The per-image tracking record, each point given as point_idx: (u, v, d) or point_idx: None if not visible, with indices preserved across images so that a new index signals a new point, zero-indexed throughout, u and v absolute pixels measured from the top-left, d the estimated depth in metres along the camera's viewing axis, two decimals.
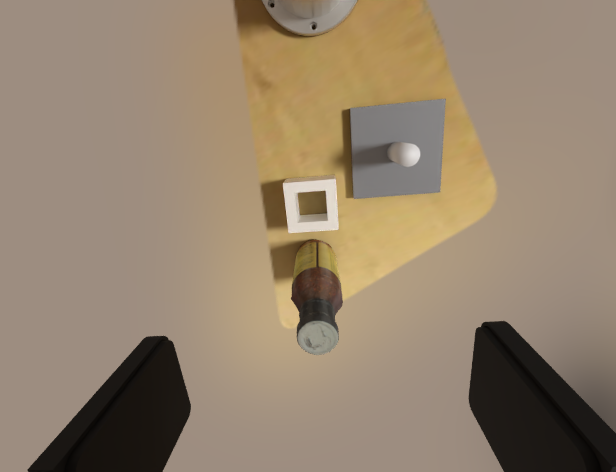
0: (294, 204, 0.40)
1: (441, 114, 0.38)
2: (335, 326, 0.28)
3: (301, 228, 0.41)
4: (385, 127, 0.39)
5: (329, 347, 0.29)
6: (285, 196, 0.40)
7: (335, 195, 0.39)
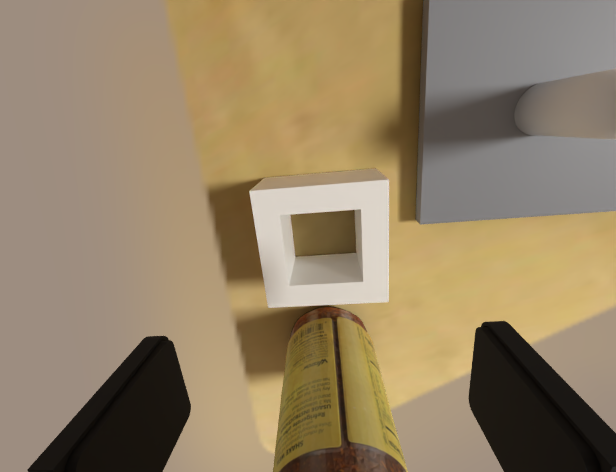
0: (280, 243, 0.16)
1: None
2: None
3: (298, 298, 0.17)
4: (519, 43, 0.15)
5: None
6: (257, 224, 0.16)
7: (385, 222, 0.15)
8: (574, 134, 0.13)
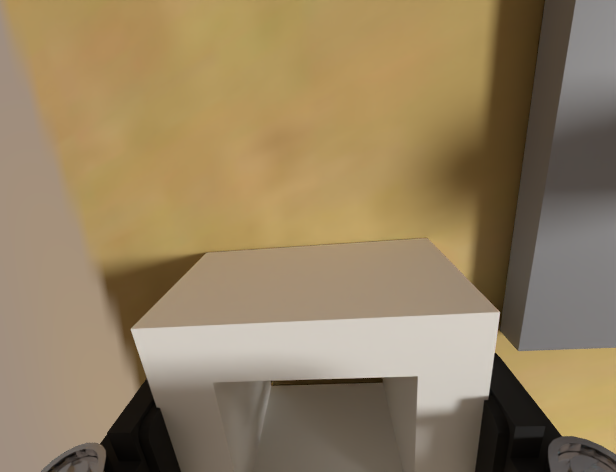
0: (219, 437, 0.07)
1: None
2: None
3: None
4: None
5: None
6: (160, 398, 0.06)
7: (479, 405, 0.06)
8: None
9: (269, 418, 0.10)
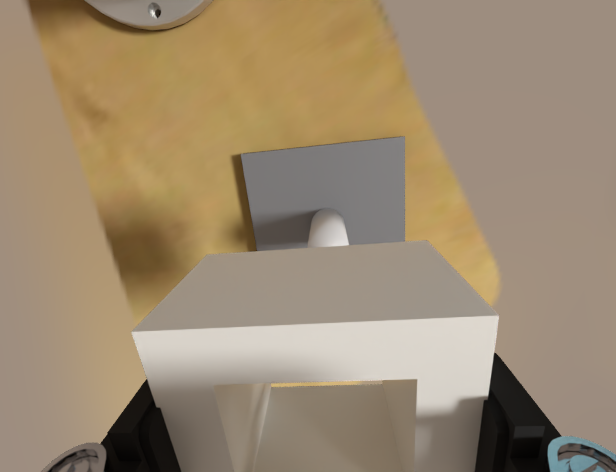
0: (220, 439, 0.07)
1: (399, 163, 0.22)
2: None
3: None
4: (303, 186, 0.23)
5: None
6: (160, 401, 0.06)
7: (479, 407, 0.06)
8: None
9: (269, 420, 0.10)
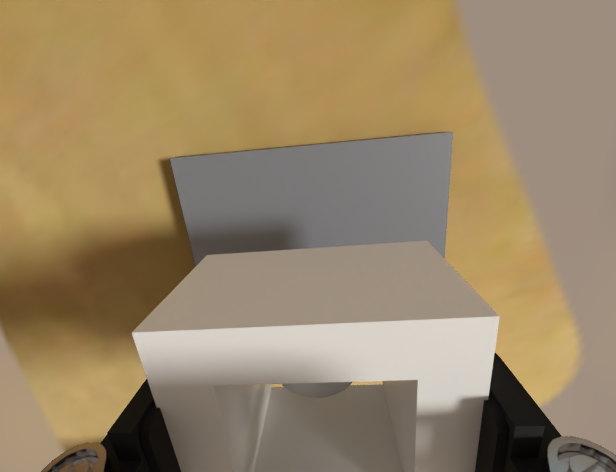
0: (220, 440, 0.07)
1: (440, 178, 0.13)
2: None
3: None
4: (278, 213, 0.14)
5: None
6: (161, 401, 0.06)
7: (479, 408, 0.06)
8: None
9: (269, 420, 0.10)
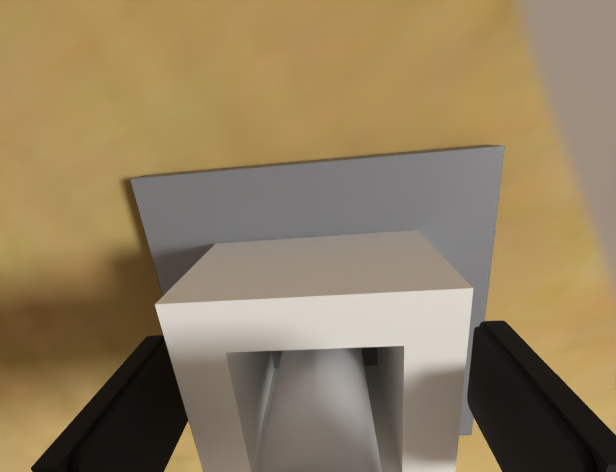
0: (230, 403, 0.08)
1: (484, 206, 0.10)
2: None
3: None
4: None
5: None
6: (178, 367, 0.07)
7: (458, 371, 0.07)
8: None
9: (272, 396, 0.11)
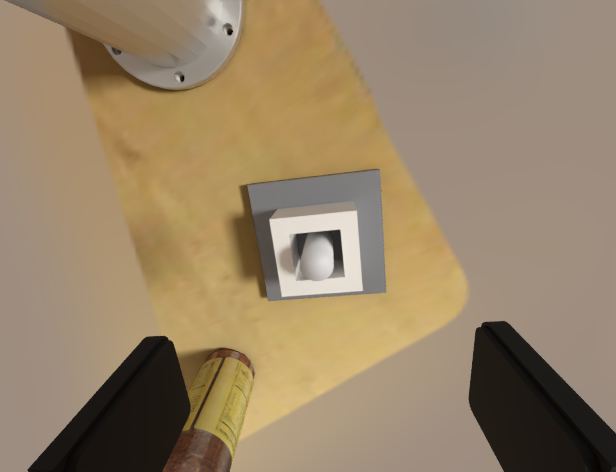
0: (289, 252, 0.25)
1: (376, 191, 0.27)
2: None
3: (302, 289, 0.26)
4: None
5: None
6: (274, 240, 0.24)
7: (356, 237, 0.24)
8: None
9: None
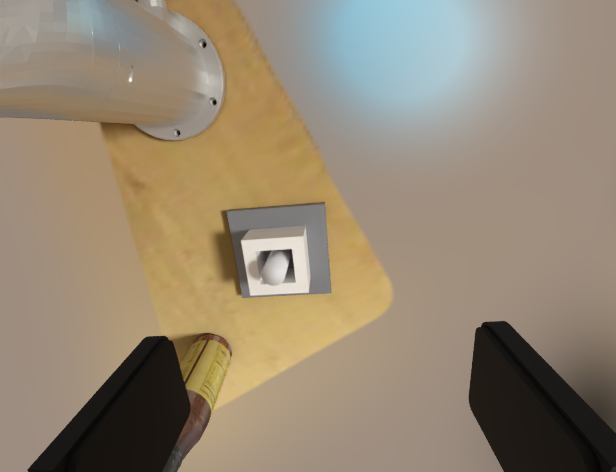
0: (255, 264, 0.34)
1: (322, 219, 0.36)
2: None
3: (265, 290, 0.35)
4: None
5: None
6: (244, 255, 0.34)
7: (303, 254, 0.33)
8: None
9: None
